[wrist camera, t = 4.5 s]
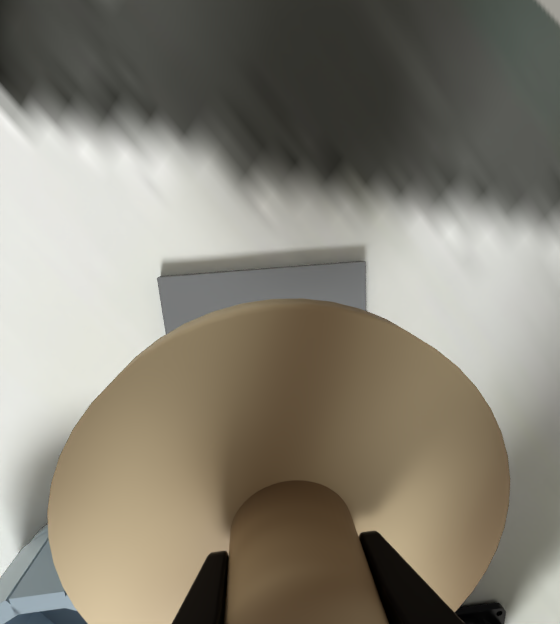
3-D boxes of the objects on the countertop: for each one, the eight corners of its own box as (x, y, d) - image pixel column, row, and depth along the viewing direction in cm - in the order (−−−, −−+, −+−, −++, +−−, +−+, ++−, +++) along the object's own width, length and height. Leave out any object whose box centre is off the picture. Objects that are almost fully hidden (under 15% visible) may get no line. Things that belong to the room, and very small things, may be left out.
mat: (361, 261, 18) (365, 261, 17) (363, 435, 20) (366, 440, 20) (160, 276, 17) (156, 278, 17) (188, 454, 20) (186, 461, 19)
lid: (495, 280, 8) (999, 375, 3) (463, 613, 11) (679, 1001, 5) (27, 319, 7) (-621, 561, 2) (118, 665, 10) (-39, 1178, 5)
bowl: (170, 498, 20) (144, 580, 15) (191, 616, 23) (174, 719, 18) (4, 518, 20) (-77, 610, 15) (43, 637, 22) (-15, 750, 17)
